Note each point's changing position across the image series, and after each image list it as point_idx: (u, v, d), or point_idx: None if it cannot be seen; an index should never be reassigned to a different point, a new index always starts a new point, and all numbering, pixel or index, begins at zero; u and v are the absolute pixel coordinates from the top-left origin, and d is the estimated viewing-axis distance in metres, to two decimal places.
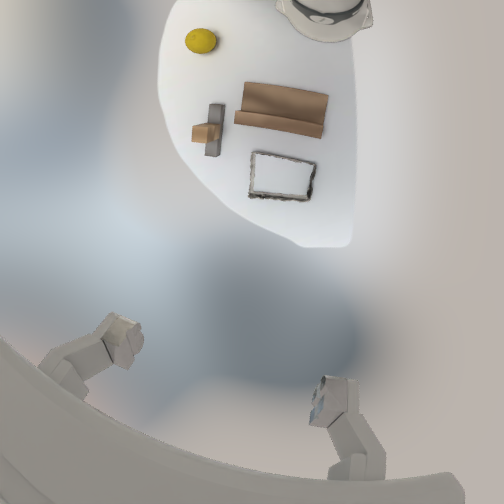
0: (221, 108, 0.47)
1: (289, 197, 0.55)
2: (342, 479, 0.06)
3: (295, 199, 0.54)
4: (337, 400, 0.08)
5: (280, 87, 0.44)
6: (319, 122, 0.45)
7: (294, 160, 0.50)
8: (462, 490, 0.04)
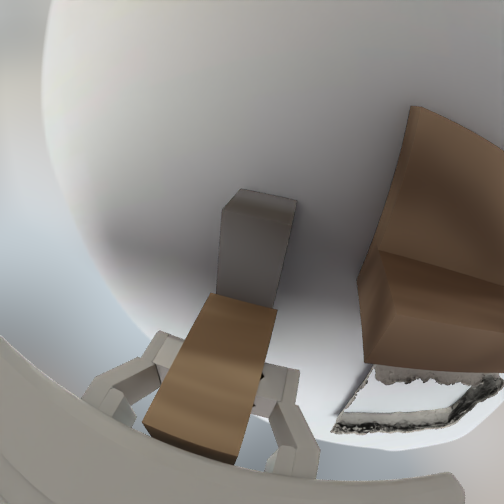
0: None
1: (419, 422, 0.17)
2: (270, 471, 0.06)
3: (430, 426, 0.16)
4: (271, 388, 0.09)
5: None
6: None
7: (471, 377, 0.13)
8: (462, 490, 0.04)
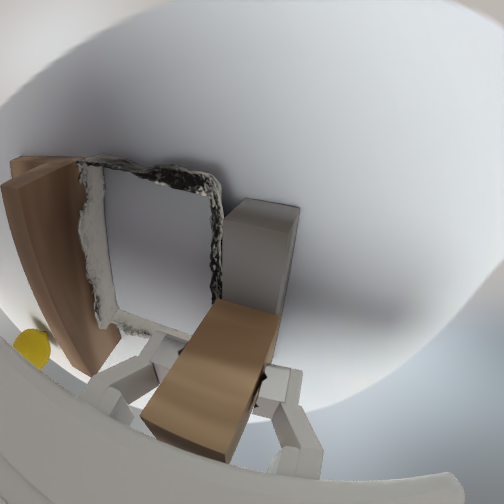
0: (287, 249, 0.10)
1: None
2: (273, 472, 0.06)
3: (216, 244, 0.12)
4: (275, 389, 0.09)
5: None
6: None
7: (88, 228, 0.13)
8: (462, 490, 0.04)
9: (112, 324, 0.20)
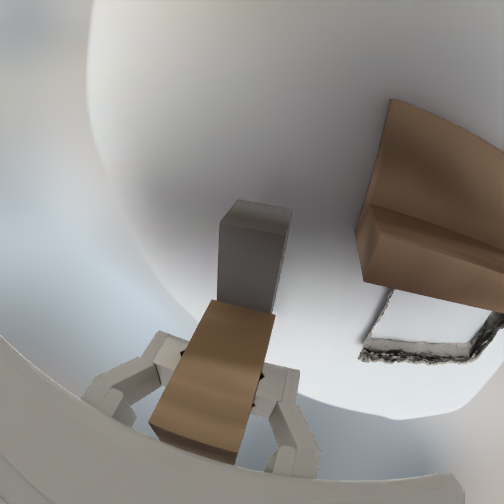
0: (283, 250, 0.10)
1: (443, 354, 0.18)
2: (270, 471, 0.06)
3: (453, 360, 0.18)
4: (272, 388, 0.09)
5: (493, 150, 0.10)
6: None
7: None
8: (462, 490, 0.04)
9: None
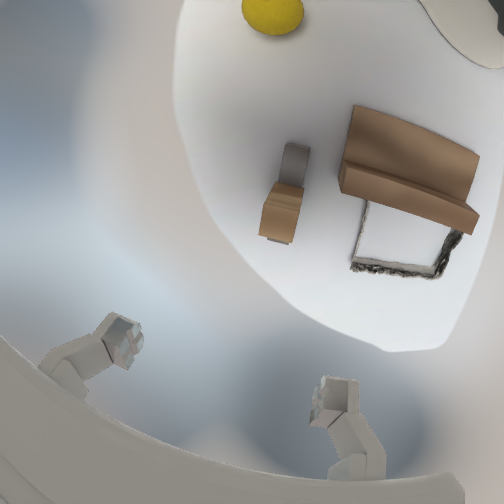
0: None
1: (412, 270, 0.30)
2: (342, 479, 0.06)
3: (421, 275, 0.29)
4: (337, 400, 0.08)
5: (417, 128, 0.22)
6: (461, 198, 0.24)
7: None
8: (462, 490, 0.04)
9: None
